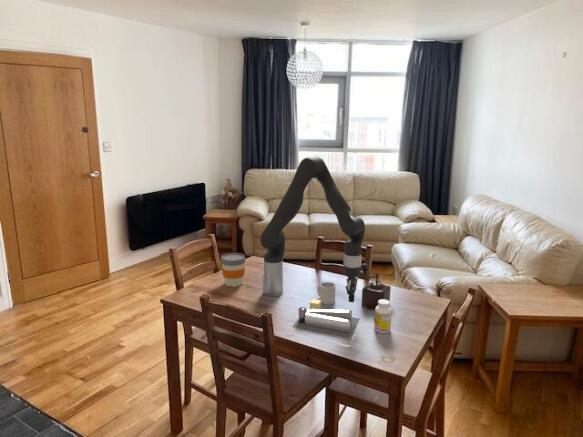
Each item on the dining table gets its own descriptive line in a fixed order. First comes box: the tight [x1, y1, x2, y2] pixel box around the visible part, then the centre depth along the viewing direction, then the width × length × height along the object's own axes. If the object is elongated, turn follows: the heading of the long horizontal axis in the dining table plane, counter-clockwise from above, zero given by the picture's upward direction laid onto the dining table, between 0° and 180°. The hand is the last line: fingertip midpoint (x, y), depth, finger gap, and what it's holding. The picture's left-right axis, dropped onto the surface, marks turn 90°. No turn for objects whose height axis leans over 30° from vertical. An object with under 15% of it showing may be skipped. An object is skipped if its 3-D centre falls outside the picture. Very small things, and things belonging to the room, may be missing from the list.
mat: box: [291, 308, 361, 339], centre depth 182 cm, size 25×18×1 cm
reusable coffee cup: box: [220, 252, 246, 287], centre depth 222 cm, size 12×13×15 cm
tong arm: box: [306, 308, 353, 321], centre depth 182 cm, size 19×2×4 cm, turn 87°
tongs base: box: [298, 306, 351, 332], centre depth 178 cm, size 23×4×6 cm, turn 69°
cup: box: [317, 281, 337, 305], centre depth 203 cm, size 7×10×9 cm
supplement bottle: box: [374, 299, 393, 334], centre depth 175 cm, size 7×7×13 cm
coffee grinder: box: [361, 263, 392, 312], centre depth 199 cm, size 16×11×18 cm
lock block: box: [309, 298, 322, 310], centre depth 189 cm, size 4×4×6 cm
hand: (351, 301), depth 186 cm, fingers closed
